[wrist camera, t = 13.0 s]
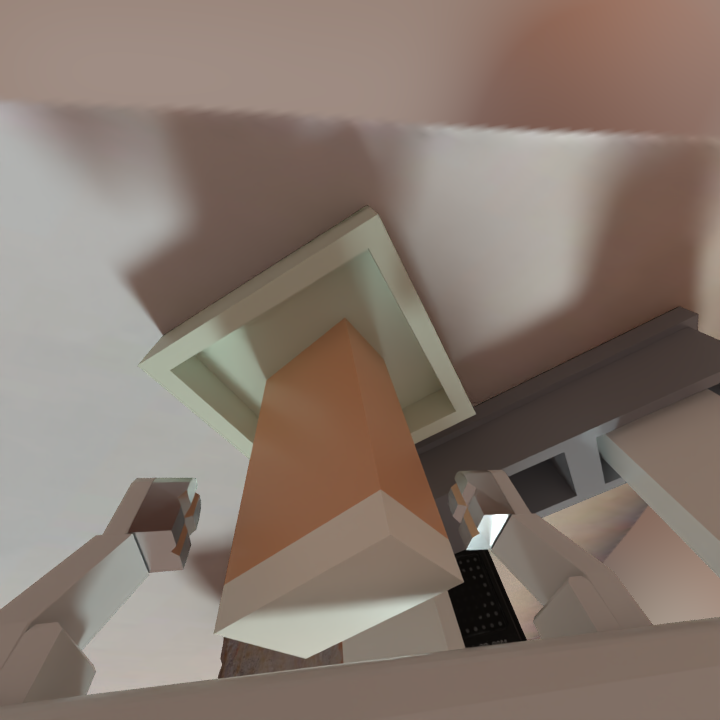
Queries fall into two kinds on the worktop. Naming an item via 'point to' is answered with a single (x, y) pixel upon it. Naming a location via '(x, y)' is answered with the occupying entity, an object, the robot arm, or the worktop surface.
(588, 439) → the fuse block
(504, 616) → the portable radio
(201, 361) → the tray
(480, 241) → the worktop surface
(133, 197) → the worktop surface
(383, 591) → the block
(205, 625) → the worktop surface
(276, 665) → the food item
